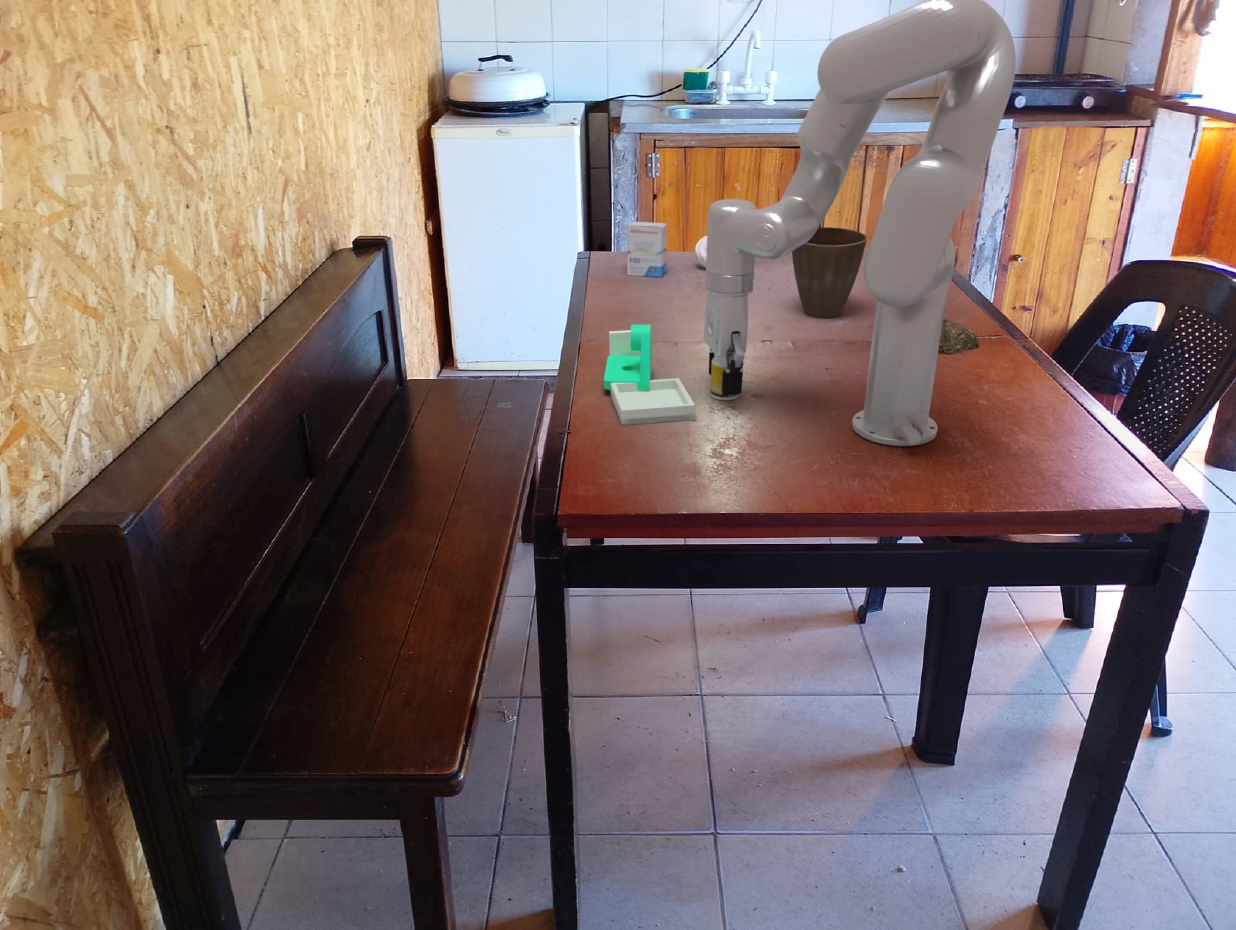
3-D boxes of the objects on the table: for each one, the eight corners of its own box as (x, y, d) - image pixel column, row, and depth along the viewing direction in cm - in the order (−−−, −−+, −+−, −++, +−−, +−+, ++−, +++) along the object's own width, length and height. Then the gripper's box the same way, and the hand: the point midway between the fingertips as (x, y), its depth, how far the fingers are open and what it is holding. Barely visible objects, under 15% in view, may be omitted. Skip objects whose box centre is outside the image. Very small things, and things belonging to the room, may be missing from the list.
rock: (932, 329, 191) (935, 305, 189) (986, 346, 182) (990, 321, 180) (889, 343, 184) (892, 317, 182) (943, 361, 175) (947, 335, 173)
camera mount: (608, 369, 172) (607, 313, 167) (651, 369, 172) (651, 314, 167) (603, 395, 161) (602, 337, 157) (649, 396, 161) (649, 337, 156)
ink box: (667, 272, 229) (667, 222, 223) (661, 278, 224) (662, 226, 219) (632, 269, 231) (632, 219, 226) (626, 275, 227) (626, 224, 221)
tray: (694, 419, 153) (694, 405, 151) (621, 425, 151) (621, 410, 150) (678, 392, 163) (679, 378, 162) (610, 396, 161) (610, 382, 160)
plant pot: (839, 329, 191) (846, 249, 183) (772, 315, 199) (777, 238, 191) (870, 310, 201) (879, 233, 194) (806, 298, 209) (812, 223, 202)
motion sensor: (692, 271, 229) (693, 239, 225) (695, 263, 235) (696, 231, 232) (726, 273, 228) (728, 240, 224) (728, 264, 234) (730, 232, 231)
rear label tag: (643, 368, 173) (643, 331, 169) (610, 371, 172) (610, 333, 169) (642, 366, 174) (642, 329, 170) (609, 368, 173) (609, 331, 170)
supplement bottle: (730, 403, 158) (733, 354, 155) (705, 397, 161) (706, 349, 157) (743, 393, 162) (746, 345, 158) (718, 388, 164) (720, 341, 160)
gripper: (693, 267, 160) (690, 366, 168) (720, 298, 144) (715, 406, 152) (737, 265, 161) (732, 364, 169) (768, 295, 145) (761, 403, 153)
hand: (724, 383), depth 160 cm, fingers open, 8 cm apart
